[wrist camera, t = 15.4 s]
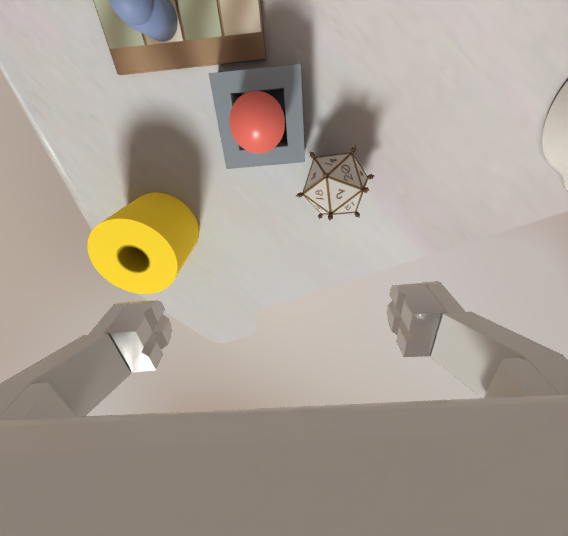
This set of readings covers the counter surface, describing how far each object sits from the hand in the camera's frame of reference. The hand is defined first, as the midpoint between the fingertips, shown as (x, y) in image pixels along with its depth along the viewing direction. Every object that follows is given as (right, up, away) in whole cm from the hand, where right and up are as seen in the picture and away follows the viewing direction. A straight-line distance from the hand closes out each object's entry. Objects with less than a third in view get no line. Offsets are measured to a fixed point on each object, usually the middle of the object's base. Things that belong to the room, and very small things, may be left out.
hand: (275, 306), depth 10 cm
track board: (-10, +27, +18) cm, 33 cm away
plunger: (-2, +19, +22) cm, 29 cm away
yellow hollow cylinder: (-17, +7, +30) cm, 35 cm away
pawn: (-12, +26, +17) cm, 33 cm away
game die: (+6, +13, +26) cm, 30 cm away
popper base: (-2, +19, +22) cm, 30 cm away
